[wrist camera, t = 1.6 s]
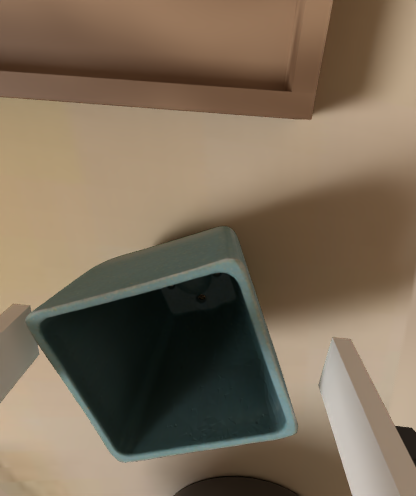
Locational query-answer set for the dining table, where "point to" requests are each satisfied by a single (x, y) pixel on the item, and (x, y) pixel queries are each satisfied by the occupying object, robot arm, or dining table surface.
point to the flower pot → (168, 350)
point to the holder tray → (167, 53)
